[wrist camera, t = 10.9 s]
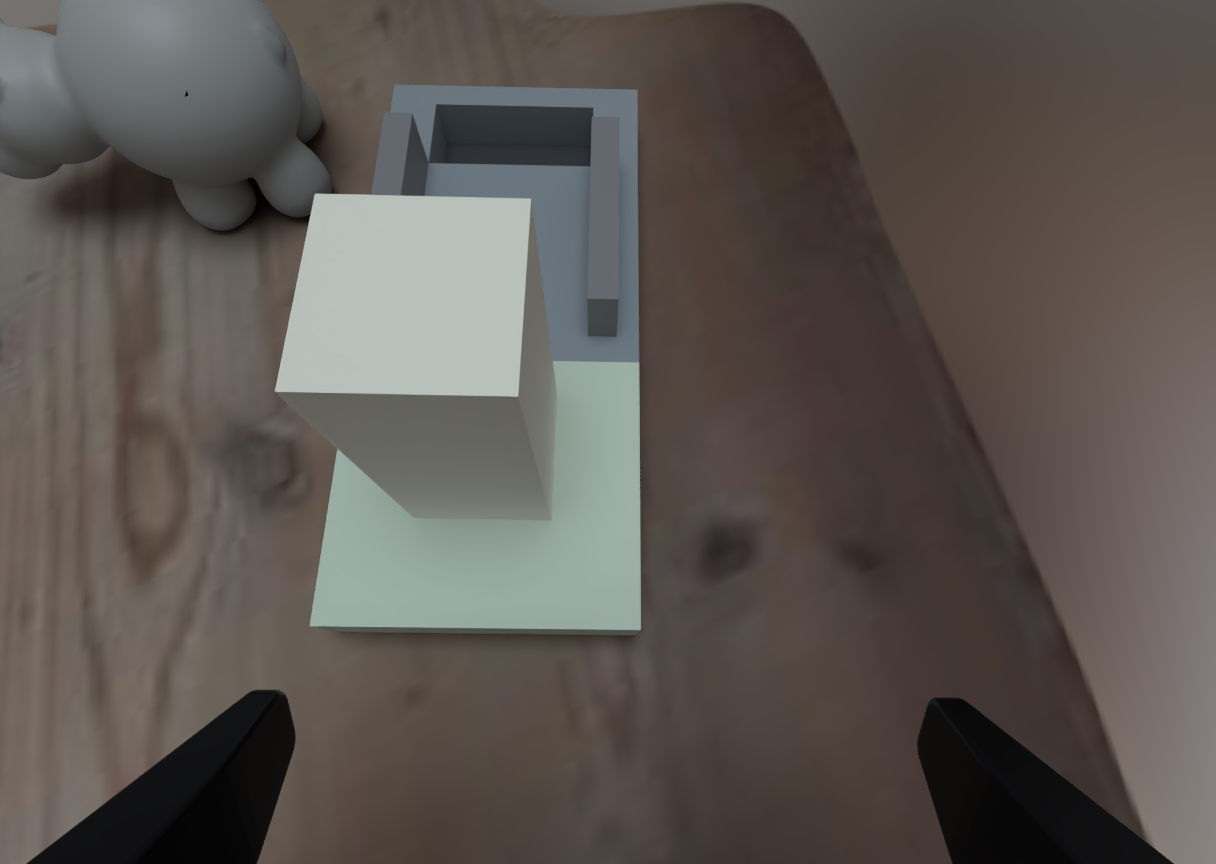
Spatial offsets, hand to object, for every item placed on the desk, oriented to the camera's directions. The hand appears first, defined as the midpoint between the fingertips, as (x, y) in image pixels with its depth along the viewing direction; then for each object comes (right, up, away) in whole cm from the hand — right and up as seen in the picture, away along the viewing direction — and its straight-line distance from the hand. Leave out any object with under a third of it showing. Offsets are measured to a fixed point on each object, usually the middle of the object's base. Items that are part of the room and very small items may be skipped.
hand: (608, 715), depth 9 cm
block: (-4, +3, +13) cm, 14 cm away
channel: (-4, +7, +17) cm, 19 cm away
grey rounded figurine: (-18, +15, +20) cm, 30 cm away
